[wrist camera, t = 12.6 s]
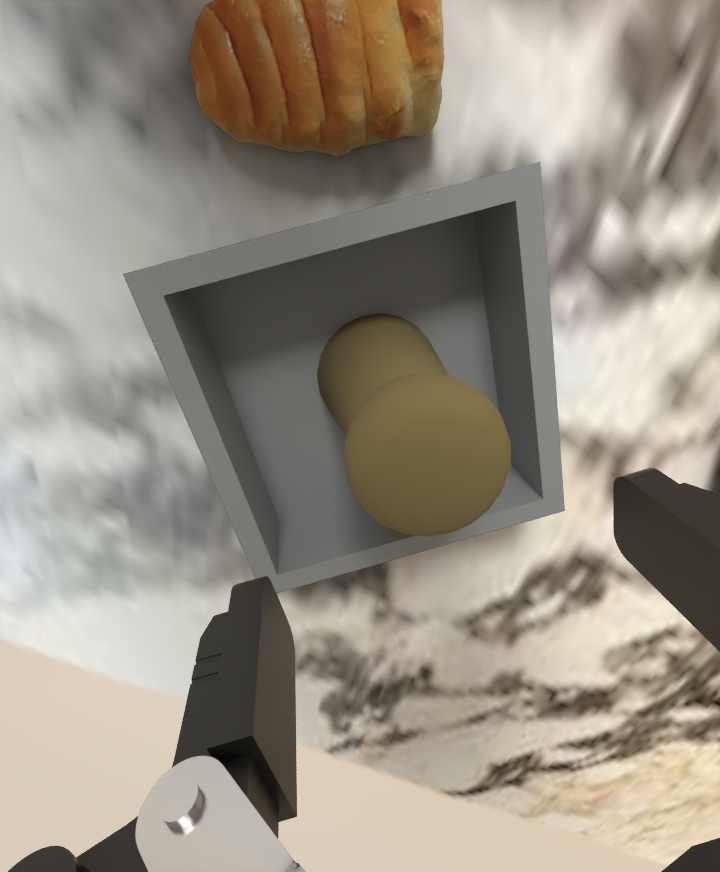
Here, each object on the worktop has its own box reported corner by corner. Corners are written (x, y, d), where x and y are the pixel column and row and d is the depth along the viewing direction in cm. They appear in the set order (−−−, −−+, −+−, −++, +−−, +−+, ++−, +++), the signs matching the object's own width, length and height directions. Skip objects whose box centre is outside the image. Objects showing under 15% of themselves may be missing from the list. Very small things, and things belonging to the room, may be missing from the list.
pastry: (229, 189, 20) (215, 178, 17) (166, -11, 17) (134, -74, 14) (439, 134, 20) (469, 113, 17) (410, -71, 18) (439, -147, 14)
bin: (160, 265, 21) (122, 273, 16) (486, 177, 21) (540, 162, 16) (268, 535, 27) (263, 596, 22) (519, 464, 27) (564, 510, 23)
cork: (458, 388, 24) (575, 497, 14) (361, 452, 25) (407, 600, 15) (396, 287, 22) (485, 332, 12) (291, 361, 23) (291, 464, 13)
